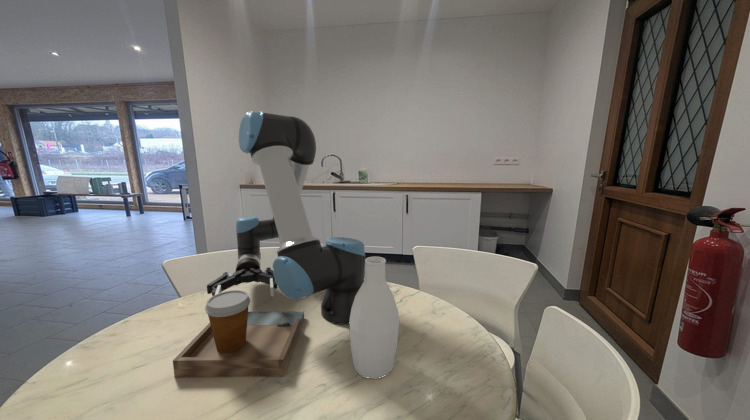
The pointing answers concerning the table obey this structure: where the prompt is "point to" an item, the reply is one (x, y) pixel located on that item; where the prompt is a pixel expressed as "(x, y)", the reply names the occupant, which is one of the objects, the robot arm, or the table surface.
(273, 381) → the table surface
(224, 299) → the disposable coffee cup
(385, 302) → the bottle
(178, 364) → the shallow wooden crate
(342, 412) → the table surface
